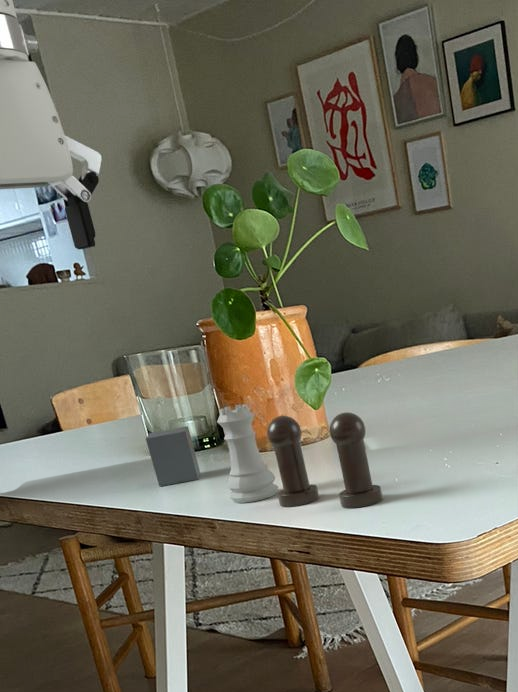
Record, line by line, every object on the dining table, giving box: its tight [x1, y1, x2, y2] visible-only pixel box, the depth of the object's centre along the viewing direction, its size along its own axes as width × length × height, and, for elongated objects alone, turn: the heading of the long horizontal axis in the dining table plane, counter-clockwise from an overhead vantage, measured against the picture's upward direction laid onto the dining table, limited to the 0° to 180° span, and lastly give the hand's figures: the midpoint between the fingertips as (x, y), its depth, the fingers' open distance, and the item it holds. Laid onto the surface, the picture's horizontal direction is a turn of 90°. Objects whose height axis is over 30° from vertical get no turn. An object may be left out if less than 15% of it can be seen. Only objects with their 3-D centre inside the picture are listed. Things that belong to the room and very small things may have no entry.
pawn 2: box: [329, 411, 384, 509], centre depth 74 cm, size 3×3×7 cm
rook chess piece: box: [216, 403, 279, 504], centre depth 82 cm, size 4×4×8 cm
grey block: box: [145, 425, 201, 487], centre depth 97 cm, size 4×4×5 cm
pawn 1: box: [266, 415, 320, 508], centre depth 78 cm, size 3×3×7 cm
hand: (38, 252), depth 90 cm, fingers open, 9 cm apart
